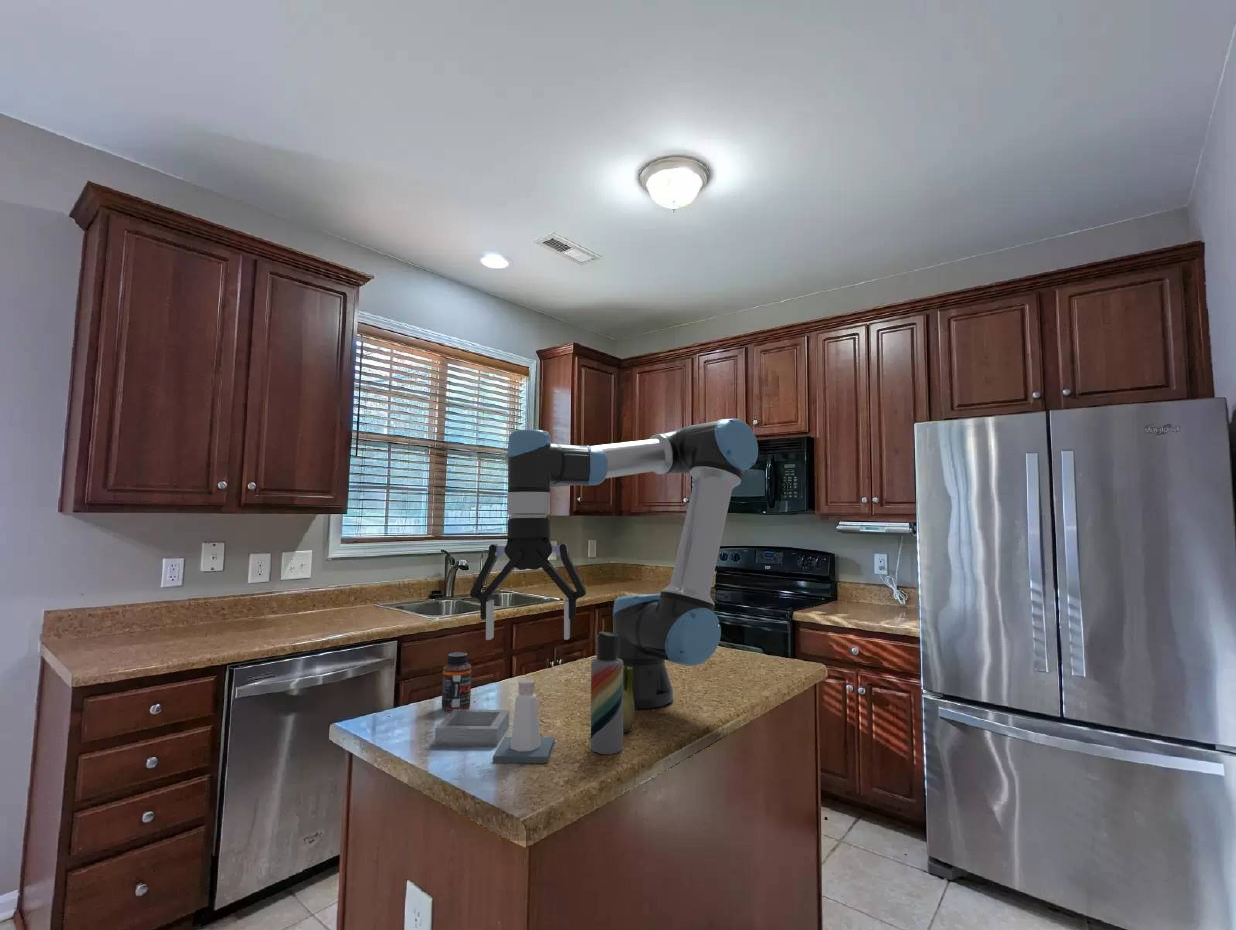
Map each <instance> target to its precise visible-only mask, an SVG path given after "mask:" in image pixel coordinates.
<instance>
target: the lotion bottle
mask: <svg viewBox="0 0 1236 930" xmlns="http://www.w3.org/2000/svg"><path fill="white" fill-rule="evenodd" d="M623 747H624V734H623V660H622V659H619V658H618V636H617V635H616V634H614V633H613V632H611V631H599V632H598V634H597V635H596V658H593V659H592V660H591V663H590V749H591V751H592V752H593V751H594V753H595V752H597V753H596V754H598V753H599V754H598V755H614V753H615V754H618V753H620V752H622V750H623ZM619 751H620V752H619ZM617 752H618V753H617Z"/></svg>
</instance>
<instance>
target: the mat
mask: <svg viewBox="0 0 1236 930" xmlns="http://www.w3.org/2000/svg"><path fill="white" fill-rule="evenodd" d="M503 737H504V738H502V739H501V740H502V741H500V744H499V746H498V747H497V749H496V750H495V753H494V754H493V757H492V763H496V764H497V763H498V764H499V763H501V764H502V763H507V764H508V763H510V764H513V763H514V764H548V763H549V759H550V757H551V754H552V751H553V749H554V746H555V737H550V736H548V737H547V736H542V737H541V736H540V748H538V749H536V750H533V751H528V752H518V751H515V750H512V749H511V748H510V747H511V738H512V736H503Z"/></svg>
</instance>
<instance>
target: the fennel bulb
mask: <svg viewBox="0 0 1236 930" xmlns="http://www.w3.org/2000/svg"><path fill="white" fill-rule="evenodd" d="M632 675H633V668H632V667H626V670H625V666H623V735H625V734H628V733H629V732H631V731H632V729H633V727H634V724H635V719H636V718H635V717H636V713H635V711H636V710H635V709H636V708H635V706H634V699H633V693H632Z"/></svg>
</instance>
